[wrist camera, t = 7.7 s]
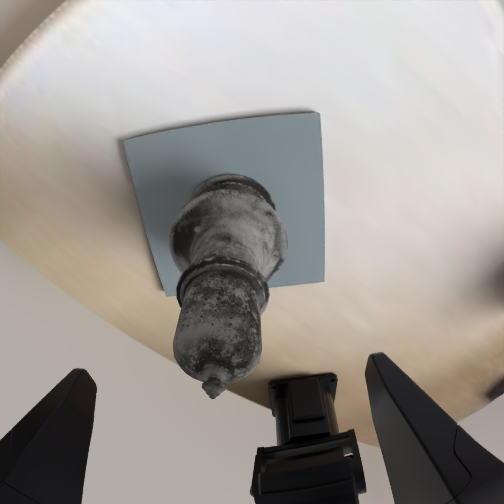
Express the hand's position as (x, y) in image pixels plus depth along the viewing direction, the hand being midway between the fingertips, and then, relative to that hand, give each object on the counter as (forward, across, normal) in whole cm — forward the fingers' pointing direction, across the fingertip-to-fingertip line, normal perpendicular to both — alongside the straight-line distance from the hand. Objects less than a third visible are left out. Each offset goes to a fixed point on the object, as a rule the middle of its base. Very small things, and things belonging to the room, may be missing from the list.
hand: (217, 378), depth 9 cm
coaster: (+12, 0, 0) cm, 12 cm away
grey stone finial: (+12, 0, 0) cm, 12 cm away
